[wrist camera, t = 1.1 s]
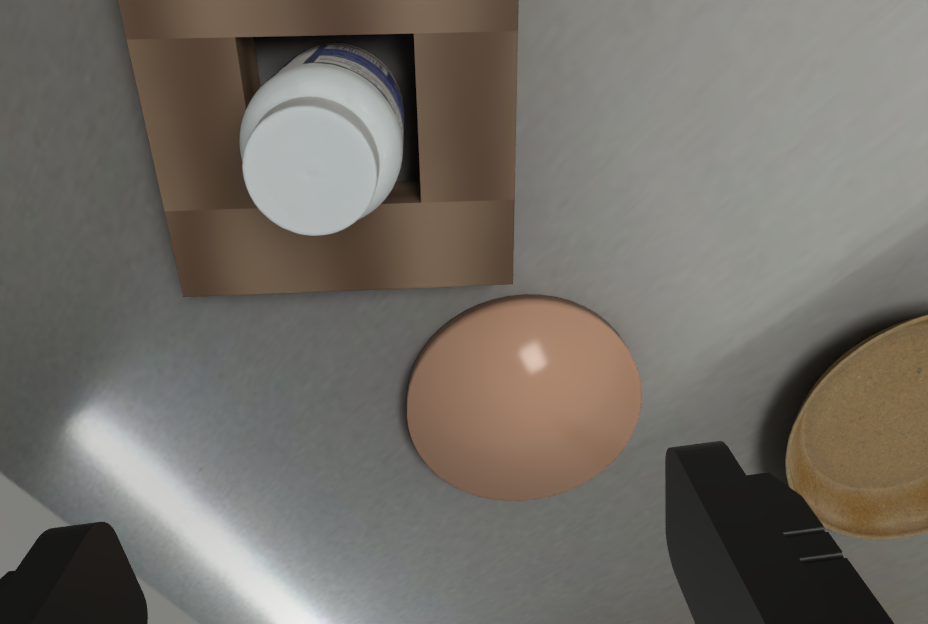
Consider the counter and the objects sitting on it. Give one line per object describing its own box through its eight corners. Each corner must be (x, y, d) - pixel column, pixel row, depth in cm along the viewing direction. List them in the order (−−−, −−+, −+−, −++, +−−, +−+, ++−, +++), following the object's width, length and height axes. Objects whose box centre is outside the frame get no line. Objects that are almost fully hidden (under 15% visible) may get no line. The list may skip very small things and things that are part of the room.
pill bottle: (313, 190, 31) (274, 283, 22) (251, 73, 28) (180, 126, 20) (425, 142, 30) (430, 219, 22) (371, 18, 28) (352, 48, 19)
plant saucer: (762, 321, 36) (786, 347, 33) (1053, 258, 35) (1099, 280, 33) (765, 528, 43) (785, 562, 40) (1009, 479, 42) (1044, 510, 40)
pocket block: (202, 268, 32) (183, 296, 30) (132, -80, 26) (99, -84, 23) (504, 257, 33) (512, 284, 30) (509, -85, 26) (520, -89, 24)
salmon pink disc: (412, 491, 39) (412, 506, 38) (400, 299, 34) (400, 310, 32) (624, 480, 40) (630, 494, 39) (646, 289, 34) (654, 300, 33)
